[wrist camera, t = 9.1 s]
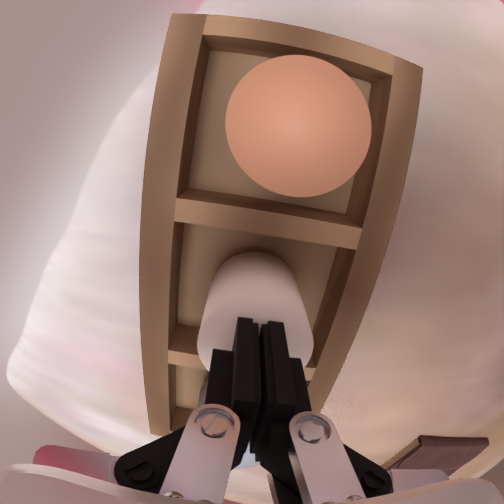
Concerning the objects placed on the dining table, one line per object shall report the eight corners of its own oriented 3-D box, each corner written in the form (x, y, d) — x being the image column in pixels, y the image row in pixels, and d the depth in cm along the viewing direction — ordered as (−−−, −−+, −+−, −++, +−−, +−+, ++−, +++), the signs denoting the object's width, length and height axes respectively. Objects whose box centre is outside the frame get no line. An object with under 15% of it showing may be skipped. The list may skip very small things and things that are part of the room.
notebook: (419, 487, 33) (422, 495, 31) (336, 491, 29) (338, 502, 27) (486, 435, 28) (491, 444, 26) (418, 432, 24) (424, 445, 23)
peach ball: (340, 93, 12) (380, 76, 7) (323, 186, 13) (355, 209, 9) (242, 73, 11) (238, 43, 7) (226, 169, 13) (215, 184, 9)
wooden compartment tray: (395, 77, 13) (423, 68, 10) (295, 421, 22) (298, 450, 19) (185, 34, 12) (172, 13, 9) (158, 405, 21) (150, 433, 18)
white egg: (306, 259, 15) (327, 308, 10) (287, 332, 16) (297, 392, 12) (215, 245, 14) (201, 291, 10) (206, 322, 16) (194, 381, 12)
